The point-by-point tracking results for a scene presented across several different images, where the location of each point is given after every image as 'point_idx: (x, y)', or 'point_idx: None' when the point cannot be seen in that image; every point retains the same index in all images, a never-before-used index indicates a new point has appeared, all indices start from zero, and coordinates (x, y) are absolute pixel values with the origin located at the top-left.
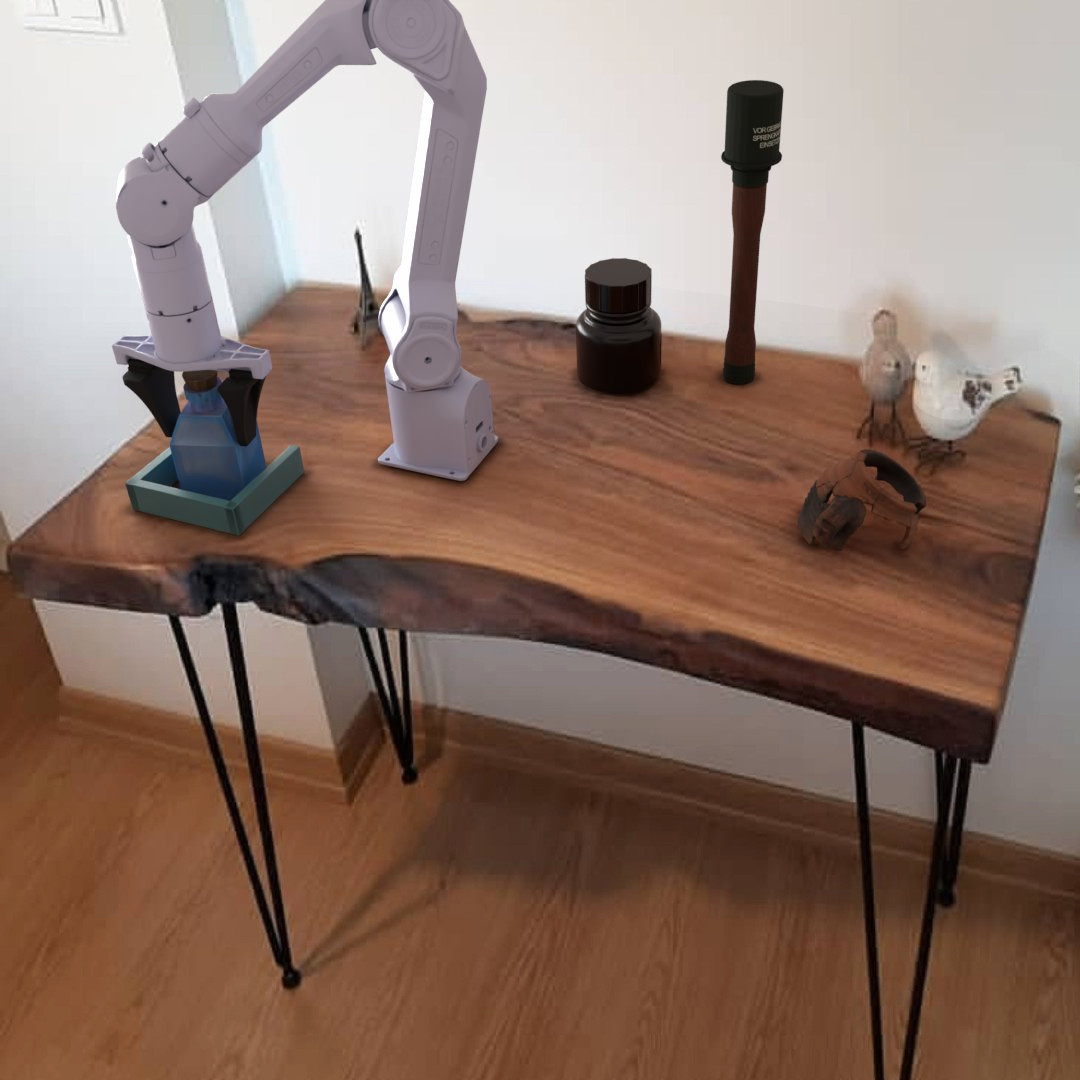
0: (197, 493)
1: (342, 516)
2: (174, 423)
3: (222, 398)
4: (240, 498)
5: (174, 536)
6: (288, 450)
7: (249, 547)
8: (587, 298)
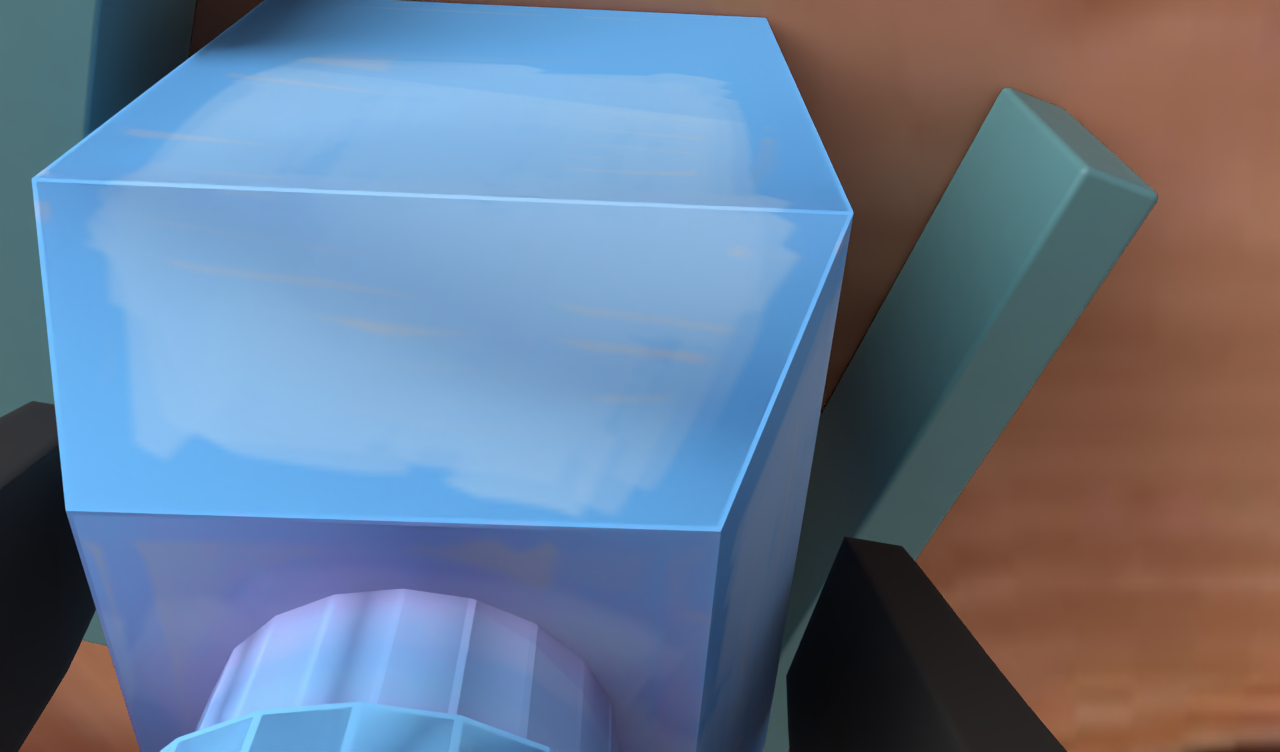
0: None
1: (1271, 526)
2: (59, 574)
3: (573, 633)
4: (783, 734)
5: None
6: (1064, 257)
7: None
8: None
